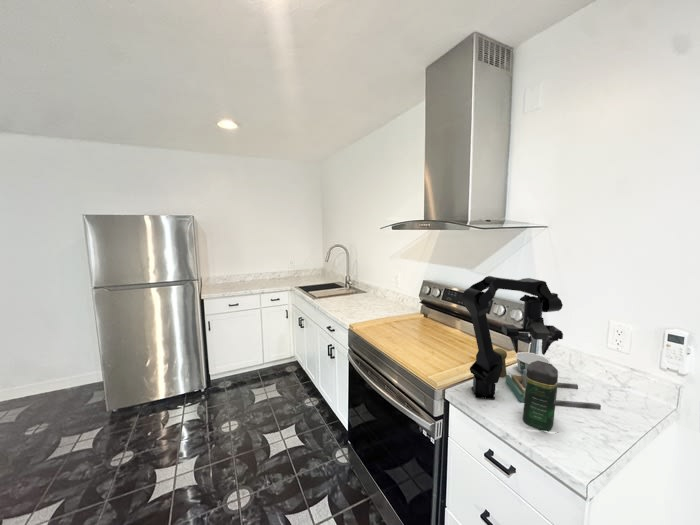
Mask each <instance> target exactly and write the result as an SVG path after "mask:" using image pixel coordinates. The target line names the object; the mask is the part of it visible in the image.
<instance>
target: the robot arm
mask: <svg viewBox="0 0 700 525" xmlns="http://www.w3.org/2000/svg"><path fill="white" fill-rule="evenodd" d="M485 290H486V291H485ZM498 290H504V291H505V290H507V291H515V292H522V293H525V294H523V296H521V297H520V298H519V302H523V305H524V306H523V312H522V313H521V316H522V317H523V318H522V319H523V320H522V323H521V324H520V326H521V327H517V326H515V325H514V324H503V325H502V326H501V332H502V333H503V334H504V335H505V336H506V337H508V338H510V339H509V340H510V341H511V344H512V347H513V350H514V352H515V354H517V353H519V339H520V337H519V335H520V334H525V335H528V334H529V335H531V338H532V339H534V340H537V341H538V340H541V355H542V356H545V355H546V353H547V351H548V349H549V348H550V346H551V345H552V344H553V343H554V342H558V341H559V340H564V339H563V338H564V334H563V331H562V330H560V329H559V328H557V327H556V326H554V325H552V324H551V325H547V324H545V322H544V320H545V319H544V318H543V313H553V312H559V311H561V310H562V308H563V302H562V300H561V298H560V297H559V294H558V293H555V292H551V290H550V287H548V284H547V282H546V281H545V280H539V279H535V278H531V277H527V278H526V277H525V278H520V279H512V278H505V277H504V278H503V277H496V276H492V275H487V276H486V277H484V278H483V279H481V280H480V281H478V282H475V283H474V284H472V285H470V286H469V287H468V288H466V289H465V290H464V291H463V293H462V294H461V299H462V302H463V304H464V308H465V309H466V310H467V312H468V313H469V314H470V317H471V321H472V322H471V323H472V326H473V332H474V335H475V340H476V344H477V350H478V351H477V352H476V355H475V360H474V362H473V363H472V365H471V366H470V367H469V371H470V373H471V374H472V375H473V380H472V381H473V383H472V384H473V385H472V386H471V391H472V393H473V394H474V397H475V398H476V399H485V400H495V399H496V396H495V395H496V387H497V386H496V384H497V383H498V382H499V380H500V378H501V377H500V375H501V372H502V369H503V368H502V365H504V364H503V363H502V356H501V355H500V354H498V353H497V352H495V351H494V346H493V342H492V337H491V331H490V325H489V322H488V317H487V313H488V311H489V308H490V302H491V301H492V300H493V299H494V298H495V296H496V294H497V292H498Z"/></svg>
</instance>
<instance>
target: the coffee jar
mask: <svg viewBox="0 0 700 525" xmlns="http://www.w3.org/2000/svg"><path fill="white" fill-rule="evenodd" d="M558 378H559V371H558V369H557V368H556V366H554V365H553V364H552V363H550V364H549V363H546V362H542V361H535V362H532V363H530V364H529V365H528V368H527V375H526V387H525V400H524V403H523V411H522V421H523V422H524V423H525V424H526V425H528V427H532V428H534V429H536V430H538V431H542V432H550V431H552V429H553V427H554V422H555V409H556V406H555V404H556V400H557V393H558V388H557V383H559V382H558V381H559V380H558Z"/></svg>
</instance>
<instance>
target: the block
mask: <svg viewBox="0 0 700 525" xmlns="http://www.w3.org/2000/svg"><path fill="white" fill-rule="evenodd" d="M522 375H523V383H522V386H523V388H524V389H525V387H526V375H527V369H524V370H523V373H522Z"/></svg>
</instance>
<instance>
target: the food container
mask: <svg viewBox="0 0 700 525" xmlns="http://www.w3.org/2000/svg"><path fill="white" fill-rule="evenodd" d="M515 358H516V363H517V370H518V371H519V372H520V373H521V374H523V370H524V369H527V368H528V365H529V364H530V363H532V362H535V361H542V362H546V363H549V364H551V361H550V360H549V359H548V358H547V357H545V356H544V355H542V354H537V353H533V352H526V351H522V352H518V353H515Z"/></svg>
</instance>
